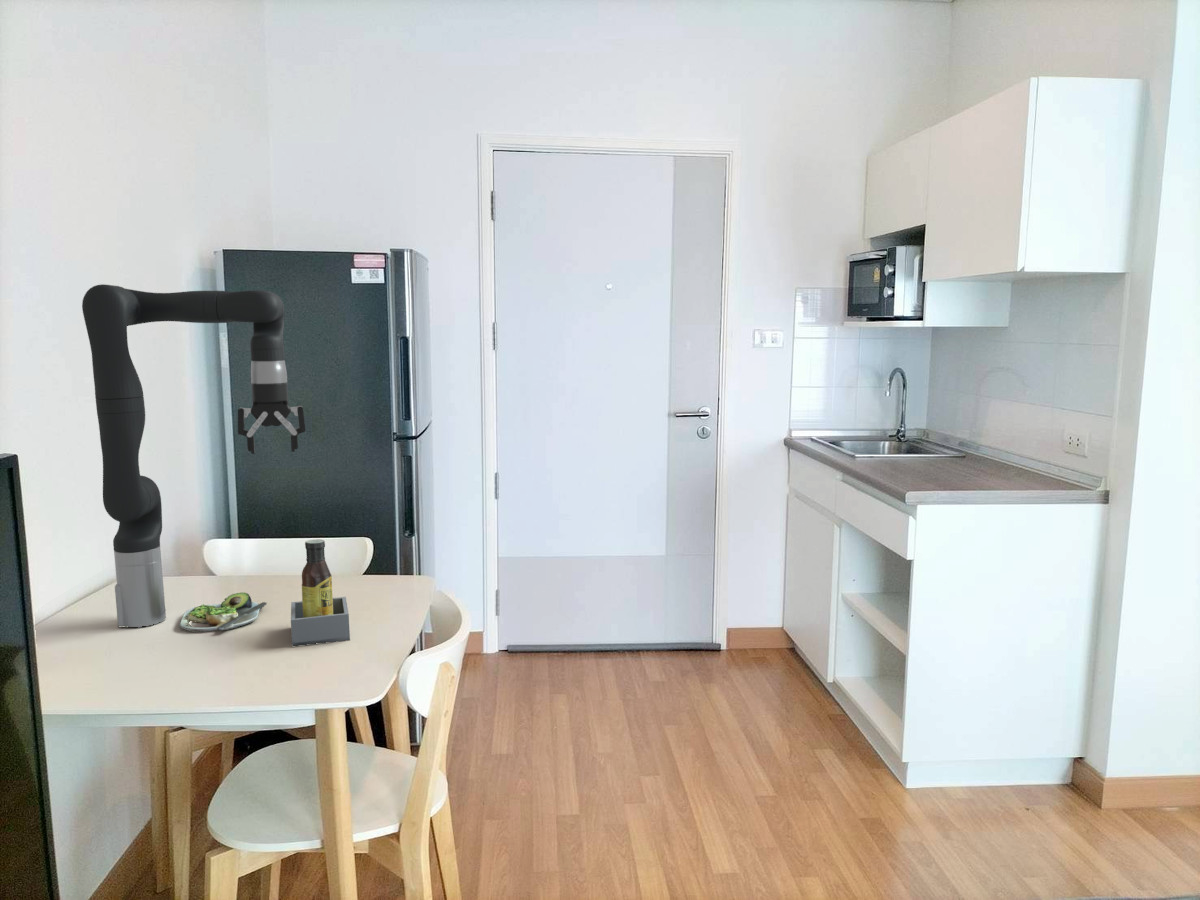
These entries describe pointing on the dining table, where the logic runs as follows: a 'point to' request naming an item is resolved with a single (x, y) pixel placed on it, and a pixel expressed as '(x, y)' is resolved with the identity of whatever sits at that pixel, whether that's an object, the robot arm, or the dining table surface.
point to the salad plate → (223, 614)
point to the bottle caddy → (320, 624)
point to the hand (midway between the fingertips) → (273, 452)
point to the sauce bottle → (316, 581)
